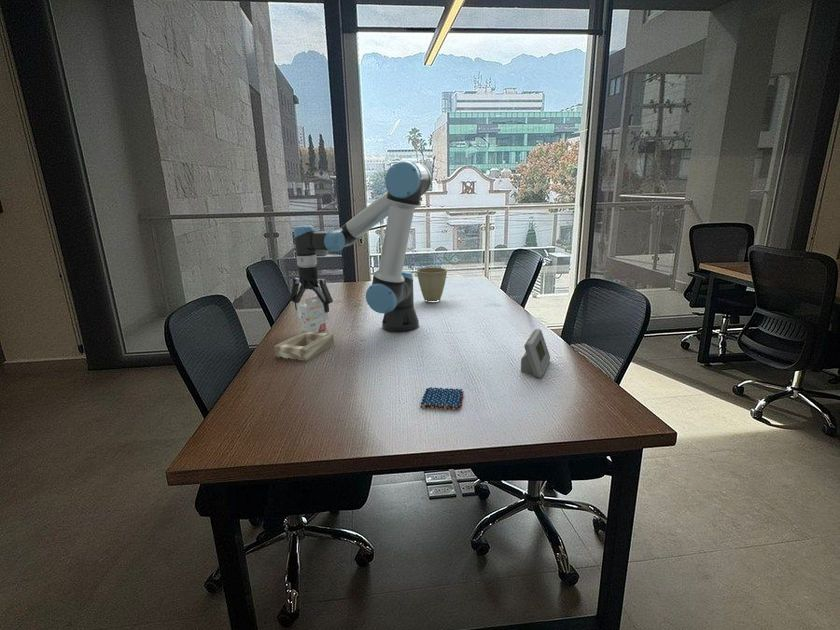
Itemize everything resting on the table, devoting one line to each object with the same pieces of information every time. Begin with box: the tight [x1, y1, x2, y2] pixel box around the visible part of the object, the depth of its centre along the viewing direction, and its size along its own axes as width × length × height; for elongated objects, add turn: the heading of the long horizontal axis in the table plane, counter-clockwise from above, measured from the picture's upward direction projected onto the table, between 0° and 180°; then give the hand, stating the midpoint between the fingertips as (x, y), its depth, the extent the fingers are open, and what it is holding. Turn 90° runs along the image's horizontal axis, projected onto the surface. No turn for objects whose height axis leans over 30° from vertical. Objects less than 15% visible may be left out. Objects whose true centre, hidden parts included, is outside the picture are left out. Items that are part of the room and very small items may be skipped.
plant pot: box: [416, 267, 448, 301], centre depth 216 cm, size 15×15×16 cm
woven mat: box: [420, 386, 465, 411], centre depth 115 cm, size 10×11×2 cm
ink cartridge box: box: [299, 295, 327, 333], centre depth 175 cm, size 9×5×15 cm, turn 143°
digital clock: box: [520, 328, 551, 378], centre depth 132 cm, size 16×9×11 cm, turn 144°
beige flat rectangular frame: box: [274, 330, 335, 362], centre depth 155 cm, size 13×17×4 cm
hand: (313, 319), depth 175 cm, fingers open, 11 cm apart
